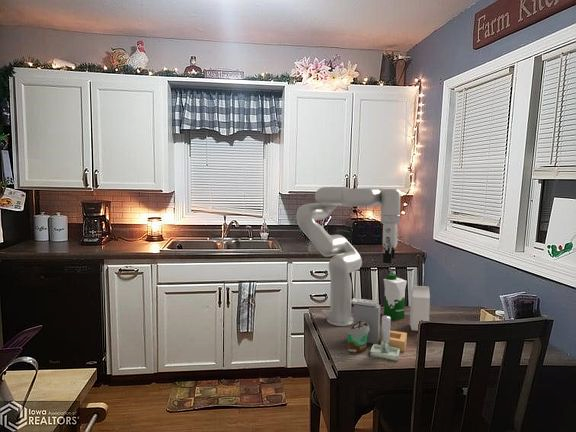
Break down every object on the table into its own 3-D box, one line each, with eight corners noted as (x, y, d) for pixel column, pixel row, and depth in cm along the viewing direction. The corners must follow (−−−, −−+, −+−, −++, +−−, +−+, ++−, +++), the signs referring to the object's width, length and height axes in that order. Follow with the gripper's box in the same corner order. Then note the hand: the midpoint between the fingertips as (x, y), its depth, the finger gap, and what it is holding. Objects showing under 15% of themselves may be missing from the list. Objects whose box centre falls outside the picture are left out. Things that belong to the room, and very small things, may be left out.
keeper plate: (351, 303, 156) (351, 301, 156) (353, 300, 160) (353, 297, 160) (376, 306, 152) (376, 304, 152) (377, 303, 156) (378, 300, 156)
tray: (369, 356, 144) (370, 351, 144) (373, 348, 150) (373, 343, 150) (397, 361, 140) (397, 356, 140) (399, 352, 146) (399, 348, 146)
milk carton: (428, 331, 166) (430, 289, 164) (411, 330, 167) (413, 288, 165) (426, 325, 173) (427, 284, 171) (409, 324, 174) (411, 283, 172)
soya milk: (393, 311, 190) (395, 272, 188) (407, 317, 182) (409, 276, 180) (380, 315, 186) (381, 274, 184) (394, 321, 178) (395, 279, 176)
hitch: (351, 342, 155) (352, 306, 153) (356, 334, 163) (357, 300, 162) (404, 351, 147) (405, 314, 146) (406, 342, 155) (408, 306, 154)
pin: (380, 353, 144) (381, 317, 143) (381, 350, 147) (382, 314, 146) (388, 355, 143) (390, 319, 142) (389, 351, 146) (391, 316, 144)
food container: (362, 358, 142) (362, 332, 141) (346, 354, 145) (347, 328, 144) (373, 345, 152) (374, 321, 151) (358, 342, 156) (359, 318, 155)
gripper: (397, 222, 147) (395, 265, 149) (402, 217, 163) (400, 257, 165) (377, 221, 150) (376, 264, 152) (384, 216, 166) (382, 255, 168)
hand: (388, 260), depth 158 cm, fingers open, 9 cm apart
